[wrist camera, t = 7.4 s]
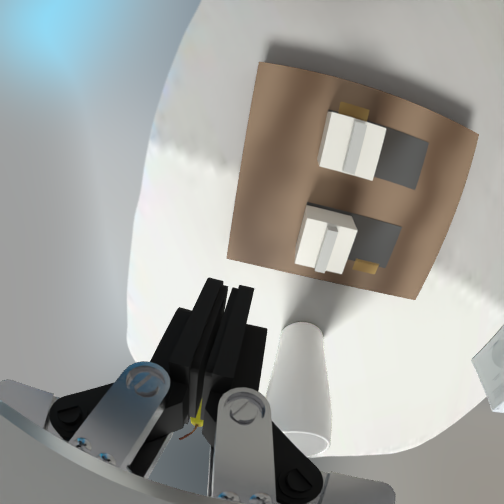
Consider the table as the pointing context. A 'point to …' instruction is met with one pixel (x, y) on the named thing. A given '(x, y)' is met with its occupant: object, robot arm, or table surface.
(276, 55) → the table surface
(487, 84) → the table surface
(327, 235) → the tab
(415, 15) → the table surface
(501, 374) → the skincare box
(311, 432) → the drinking glass
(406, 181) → the switch board
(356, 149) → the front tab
